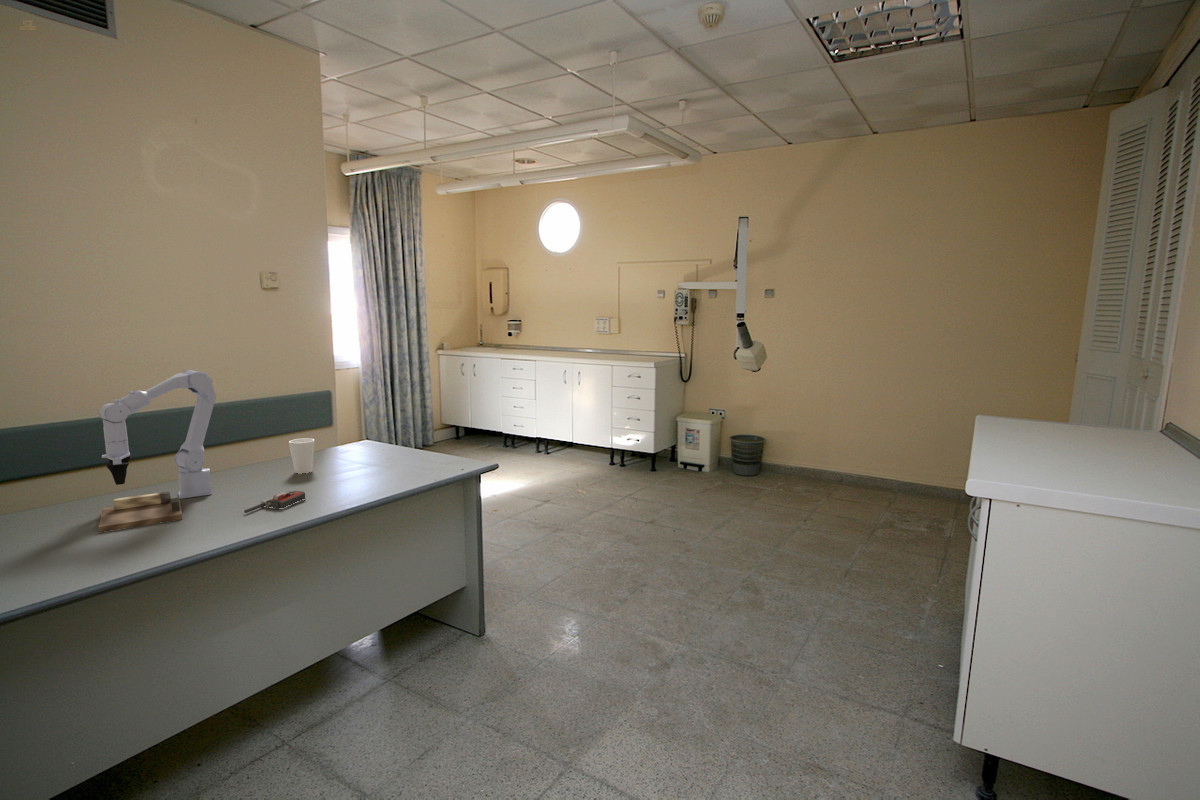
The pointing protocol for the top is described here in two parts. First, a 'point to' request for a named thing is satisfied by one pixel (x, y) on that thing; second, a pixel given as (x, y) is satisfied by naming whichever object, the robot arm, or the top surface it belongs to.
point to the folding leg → (141, 500)
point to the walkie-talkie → (280, 500)
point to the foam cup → (302, 454)
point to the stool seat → (139, 515)
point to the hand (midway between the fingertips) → (121, 481)
